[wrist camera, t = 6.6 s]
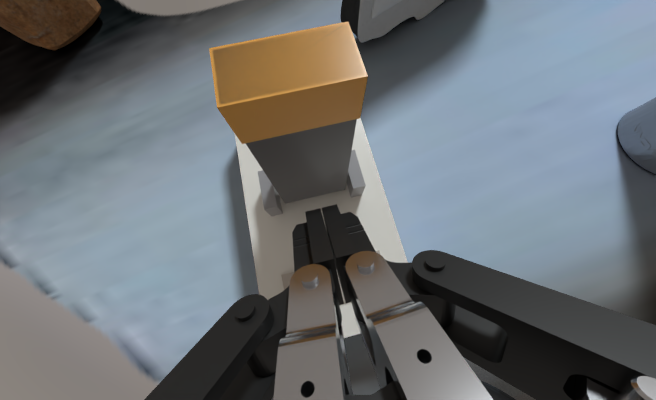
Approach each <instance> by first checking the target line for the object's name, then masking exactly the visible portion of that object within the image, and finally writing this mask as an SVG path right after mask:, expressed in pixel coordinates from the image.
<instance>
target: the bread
mask: <svg viewBox="0 0 656 400" xmlns="http://www.w3.org/2000/svg"><path fill="white" fill-rule="evenodd" d="M100 13H101V6H100V5H99V3H98V2H97V1H96V0H0V27H2V28H4V29H5V30H7V31H9V32H11V33H12V34H14V35H16V36H17V37H19V38H21V39H22V40H24V41H26V42H28V43H31V44H33V45H36V46H40V47H43V48H46V49H50V50H57V49H60V48H62V47H65V46H66V45H68V44H70V43H71V42H73V41H74V40H76V39H77V38H78V37H80V36H81V35H82V34H83V33H84V32H85V31H86V30H87V29H88V28H90V27H91V26H92V24H93V23H94V22H95V21H96V19H97V18H98V16H99V15H100Z"/></svg>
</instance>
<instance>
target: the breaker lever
mask: <svg viewBox="0 0 656 400" xmlns="http://www.w3.org/2000/svg"><path fill="white" fill-rule="evenodd" d="M209 50H210V57H211V65H212V72H213V80H214V87H215V95H216V102H217V108H218V109H219V111H220V112H221V114H222V115H223V117H224V118H225V120H226V121H227V123H228V124H229V126H230V127H231V128H232V130H233V131H234V133H235V134H236V136H237V137H238V139H239V140H240V142H241V143H242V144H246V145H247V147H248V148H249V150H250V151H251V153H252V154H253V156H254V157H255V159H256V160H257V162H258V163H259V165H260V166H261V168H262V169H263V171H264V172H265V174H266V176H267V177H268V179H269V180H270V182H271V183H272V185H273V186H274V188H275V189H276V191H277V192H278V194H279V195H280V197H281V198H282V200H283V201H284V203H285V204H286V203H291V202H295V201H299V200H303V199H308V198H312V197H316V196H320V195H325V194H329V193H333V192H338V191H342V190H345V186H346V180H347V174H348V168H349V163H350V157H351V151H352V145H353V139H354V133H355V127H356V121H357V119H359V118H360V116H361V110H362V105H363V100H364V94H365V89H366V84H367V78H368V75H367V72H366V69H365V67H364V64H363V61H362V58H361V55H360V53H359V50H358V47H357V44H356V41H355V39H354V36H353V33H352V30H351V28H350V25H349V22H342V23H337V24H332V25H327V26H322V27H317V28H312V29H306V30H301V31H296V32H291V33H286V34H281V35H276V36H270V37H265V38H260V39H255V40H250V41H245V42H240V43H234V44H229V45H224V46H219V47H214V48H209Z"/></svg>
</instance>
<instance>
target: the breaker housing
mask: <svg viewBox="0 0 656 400" xmlns="http://www.w3.org/2000/svg"><path fill="white" fill-rule="evenodd" d="M235 139H236V145H237V152H238V158H239V165H240V172H241V178H242V185H243V191H244V198H245V204H246V211H247V218H248V224H249V231H250V237H251V244H252V250H253V257H254V263H255V270H256V277H257V283H258V290H259V295H262V296H264V297H265V298H266V299H267V300H268V299H270V298H272V297H274V296H276V295H278V294H279V293H281V292H282V291H284V290H285V289H286V288H287V287H288V286H289V285H290V279H291V277H292V275H293V274H294V255H293V238H292V232H293V230H294V228H295V226H296V225H298V224H302V223H306V222H307V220H306V214H305V212H306V211H310V210H315V209H319V208H320V209H321V213H322V216H323V212H322V208H323V207H327V206H331V205H335V204H337V206H338V209H339V211H340V213H341V214H343V213H347V212H351V213H353V214H354V215H356V216H358V218H359V220H360V222H361V225H362V226H363V228H364V230H365V232H366V234H367V236H368V238H369V240H370V242H371V244H372V245H373V247H374V249H375V251H376V253H378V254H380V255H381V256H383V258H384V259H385V260H387V261H390V262H396V263H408V262H407V259H406V256H405V253H404V249H403V246H402V243H401V240H400V237H399V234H398V231H397V228H396V225H395V222H394V219H393V216H392V213H391V210H390V207H389V204H388V201H387V198H386V195H385V191H384V188H383V185H382V182H381V179H380V176H379V173H378V170H377V167H376V164H375V161H374V158H373V155H372V152H371V149H370V146H369V143H368V140H367V136H366V133H365V130H364V127H363V124H362V121H361V118H359V119H357V121H356V127H355V133H354V139H353V145H352V151H351V157H350V163H349V168H348V174H347V180H346V186H345V190H342V191H338V192H333V193H329V194H325V195H320V196H316V197H312V198H308V199H303V200H299V201H295V202H291V203H286V204H285V203H284V201H283V200H282V198H281V197H280V195H279V194H278V192H277V191H276V189H275V188H274V186H273V185H272V183H271V182H270V180H269V179H268V177H267V176H266V174H265V172H264V171H263V169H262V168H261V166H260V165H259V163H258V162H257V160H256V159H255V157H254V156H253V154H252V153H251V151H250V150H249V148H248V147H247V145H246V144H242V143H241V142H240V140H239V139H238V137H237V136H236V134H235ZM323 220H324V217H323ZM324 224H325V221H324ZM325 227H326V226H325ZM326 231H327V230H326ZM336 270H337V269H336ZM337 274H338V273H337ZM338 279H339V277H338ZM339 283H340V280H339ZM340 288H341V284H340ZM341 292H342V297H343V301H344V304H342V305H339V306H340V310H341V314H342V327H343V334H344V338H346V337H350V336H354V335H357V334H361V333H360V331H359V328H358V325H357V323H356V319H355V314H354V310H353V306H352V303H351V302H349V303H345V299H344V295H343V291H342V288H341Z"/></svg>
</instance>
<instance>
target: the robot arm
mask: <svg viewBox="0 0 656 400" xmlns="http://www.w3.org/2000/svg"><path fill="white" fill-rule="evenodd" d="M618 137H619V140H620V143H621V145H622V147H623V149H624V150H625V152H626V153H627V154H628V156H629V157H630V158H631V159H632V160H633V161H635V162H636V163H637V164H638V165H640V166H641V167H643V168H644V169H646V170H648V171H650V172H652V173H654V174H656V98H654V99H652V100H650V101H648V102H646V103H645V104H643V105H641V106H639V107H637V108H635V109H634V110H632V111H630V112H628V113H627V114H625V115H624V116H623V117H622V119H621V120H620V122H619V126H618ZM322 212H323V216H322V213H321V209H320V208H319V209H315V210H310V211H306V212H305V214H306V220H307V222H306V223H302V224H298V225H296V226H295V228H294V230H293V232H292V238H293V255H294V274H293V275H292V277H291V279H290V285H289V286H288V287H287V288H286V289H285V290H284V291H282V292H281V293H279V294H278V295H276V296H274V297H272V298H270V299H268V300H267V299H266V298H265V297H264V296H262V295H257V294H254V295H248V296H246V297H243V298H241V299H240V300H238V301H237V302H235V303H234V304H233V305H232V306H231V307H230V308H229V309H228V310H227V312H226V313H225V314H224V315H223V316H222V317H221V318H220V319H219V320H218V321H217V322H216V323H215V324H214V326H213V327H212V328H211V329H210V330H209V331H208V332H207V333H206V334H205V335H204V336H203V337H202V338H201V339H200V341H199V342H198V343H197V344H196V345H195V346H194V347H193V348H192V349H191V350H190V351H189V352H188V353H187V355H186V356H185V357H184V358H183V359H182V360H181V361H180V362H179V363H178V364H177V365H176V366H175V367H174V368H173V370H172V371H171V372H170V373H169V374H168V375H167V376H166V377H165V378H164V379H163V380H162V381H161V382H160V384H159V385H158V386H157V387H156V388H155V389H154V390H153V391H152V392H151V393H150V394H149V395H148V396H147V398H146V399H145V400H271V399H272V397H273V395H274V398H273V400H515V399H514V398H512V397H511V396H509V395H508V394H506V393H504V392H503V391H501V390H499V389H497V388H496V387H494V386H492V385H490V384H488V383H485V382H483V381H480V380H479V379H478V377H477V376H476V375H475V373H474V372H473V370H472V369H471V368H470V366H469V365H468V363H467V362H466V361H465V359H464V358H466V359H468V360H469V361H471V362H473V363H475V364H476V365H478V366H480V367H481V368H483V369H485V370H487V371H488V372H490V373H492V374H493V375H495V376H497V377H499V378H500V379H502V380H504V381H505V382H507V383H509V384H511V385H512V386H514V387H516V388H517V389H519V390H521V391H522V392H524V393H526V394H528V395H529V396H531V397H533V398H534V399H536V400H656V325H653V324H651V323H648V322H645V321H642V320H639V319H636V318H633V317H630V316H627V315H624V314H621V313H619V312H616V311H613V310H610V309H607V308H604V307H601V306H598V305H595V304H592V303H590V302H587V301H584V300H581V299H578V298H575V297H572V296H569V295H566V294H563V293H560V292H558V291H555V290H552V289H549V288H546V287H543V286H540V285H537V284H534V283H531V282H528V281H526V280H523V279H520V278H517V277H514V276H511V275H508V274H505V273H502V272H499V271H497V270H494V269H491V268H488V267H485V266H482V265H479V264H476V263H473V262H470V261H467V260H465V259H462V258H459V257H456V256H453V255H450V254H447V253H444V252H441V251H435V250H428V251H423V252H421V253H419V254H417V255H416V256H415V257H414V259H413V261H412V263H396V262H390V261H387V260H385V259H384V258H383V256H381V255H380V254H378V253H376V251H375V249H374V247H373V245H372V244H371V242H370V240H369V238H368V236H367V234H366V232H365V230H364V228H363V226H362V225H361V222H360V220H359V218H358V216H356V215H354V214H353V213H351V212H347V213H343V214H341V213H340V211H339V209H338V206H337V204H335V205H331V206H327V207H323V208H322ZM323 217H324V220H323ZM324 221H325V224H324ZM325 226H326V227H325ZM326 230H327V231H326ZM336 269H337V270H336ZM337 273H338V274H337ZM338 277H339V279H338ZM339 280H340V283H339ZM340 284H341V288H342V291H343V295H344V299H345V303H349V302H351V303H352V306H353V310H354V314H355V319H356V323H357V325H358V328H359V331H360V333H361V336H362V338H363V341H364V344H365V346H366V349H367V351H368V354H369V357H370V359H371V362H372V365H373V367H374V370H375V373H376V376H377V379H378V383H379V386H380V390H379V391H377V392H376V393H374V394H372V395H353V391H352V386H351V380H350V374H349V367H348V360H347V354H346V347H345V340H344V334H343V327H342V314H341V310H340V306H339V305H342V304H344V301H343V297H342V292H341V288H340ZM463 357H464V358H463Z"/></svg>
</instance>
